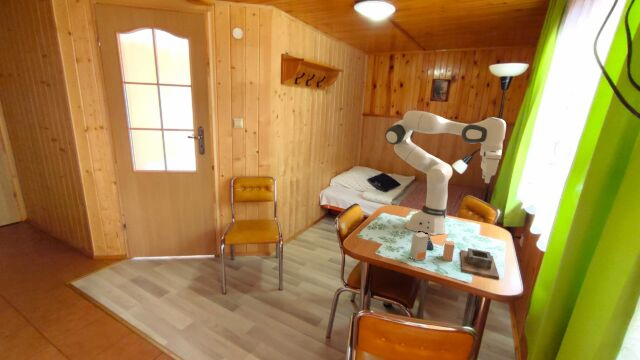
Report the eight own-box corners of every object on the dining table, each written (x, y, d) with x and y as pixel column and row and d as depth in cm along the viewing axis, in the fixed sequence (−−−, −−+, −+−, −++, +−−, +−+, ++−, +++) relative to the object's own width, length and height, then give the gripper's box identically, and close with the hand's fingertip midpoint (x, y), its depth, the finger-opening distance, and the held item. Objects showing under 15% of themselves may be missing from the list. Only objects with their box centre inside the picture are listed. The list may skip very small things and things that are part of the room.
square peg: (442, 259, 140) (445, 243, 138) (442, 255, 144) (445, 240, 142) (452, 261, 139) (454, 245, 137) (451, 257, 142) (454, 242, 141)
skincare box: (415, 261, 138) (418, 237, 135) (409, 256, 141) (412, 233, 139) (425, 259, 140) (429, 235, 137) (419, 254, 144) (422, 231, 141)
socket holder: (462, 271, 130) (464, 260, 129) (460, 252, 148) (461, 242, 147) (498, 279, 125) (501, 268, 124) (492, 258, 143) (494, 248, 142)
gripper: (480, 149, 152) (475, 175, 156) (486, 154, 134) (480, 184, 137) (494, 150, 150) (489, 177, 154) (502, 156, 132) (496, 186, 135)
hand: (485, 180), depth 145 cm, fingers open, 8 cm apart
